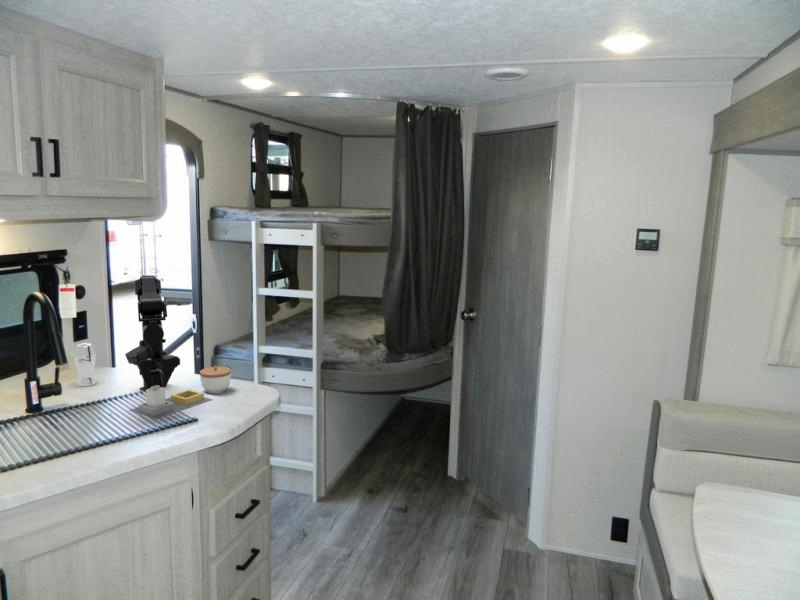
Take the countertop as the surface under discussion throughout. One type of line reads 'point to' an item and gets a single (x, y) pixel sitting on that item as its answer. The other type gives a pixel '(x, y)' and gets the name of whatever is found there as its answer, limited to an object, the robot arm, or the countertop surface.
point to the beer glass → (85, 363)
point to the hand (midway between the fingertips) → (155, 384)
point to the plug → (155, 396)
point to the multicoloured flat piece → (173, 404)
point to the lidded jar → (215, 379)
